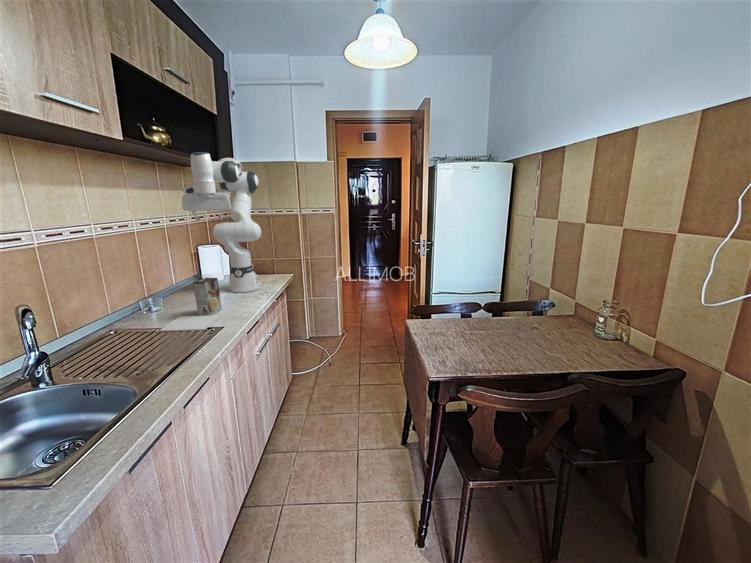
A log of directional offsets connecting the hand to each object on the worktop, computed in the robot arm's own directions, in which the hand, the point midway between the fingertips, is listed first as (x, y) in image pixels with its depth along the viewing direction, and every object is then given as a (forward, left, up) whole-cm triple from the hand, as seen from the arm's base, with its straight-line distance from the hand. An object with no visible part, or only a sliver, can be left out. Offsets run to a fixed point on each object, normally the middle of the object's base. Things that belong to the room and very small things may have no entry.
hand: (209, 220), depth 156 cm
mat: (+22, -4, -43) cm, 48 cm away
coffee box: (+8, -2, -43) cm, 44 cm away
